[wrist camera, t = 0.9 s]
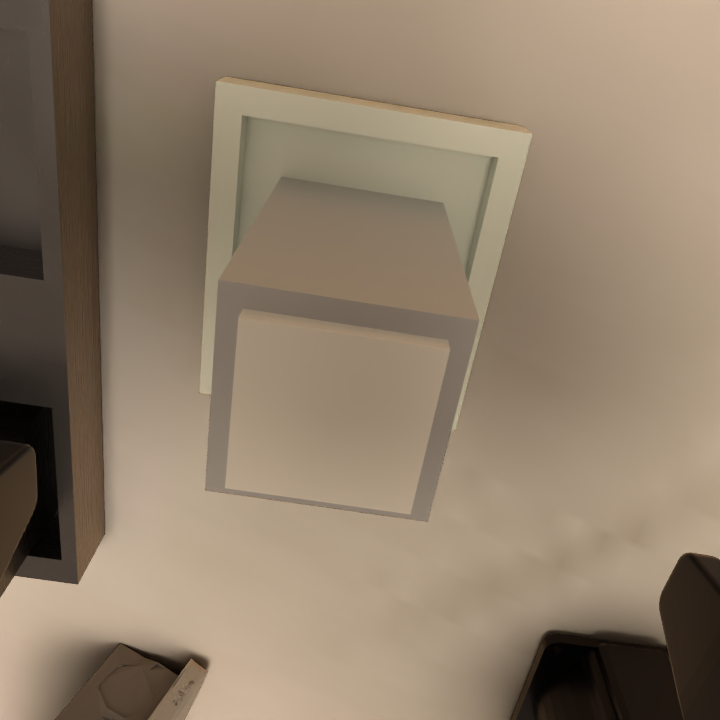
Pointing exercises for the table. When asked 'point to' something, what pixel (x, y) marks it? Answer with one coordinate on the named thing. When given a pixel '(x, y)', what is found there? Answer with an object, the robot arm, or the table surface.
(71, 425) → the strip
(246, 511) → the table surface
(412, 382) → the plug
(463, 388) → the tray
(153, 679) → the electrical switch
